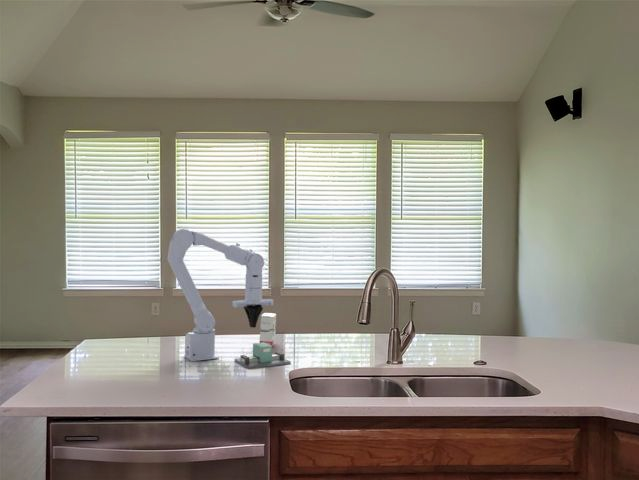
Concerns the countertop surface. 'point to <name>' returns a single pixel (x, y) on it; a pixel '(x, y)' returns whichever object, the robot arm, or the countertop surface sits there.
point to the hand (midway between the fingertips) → (252, 327)
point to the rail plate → (254, 362)
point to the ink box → (268, 328)
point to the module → (262, 352)
